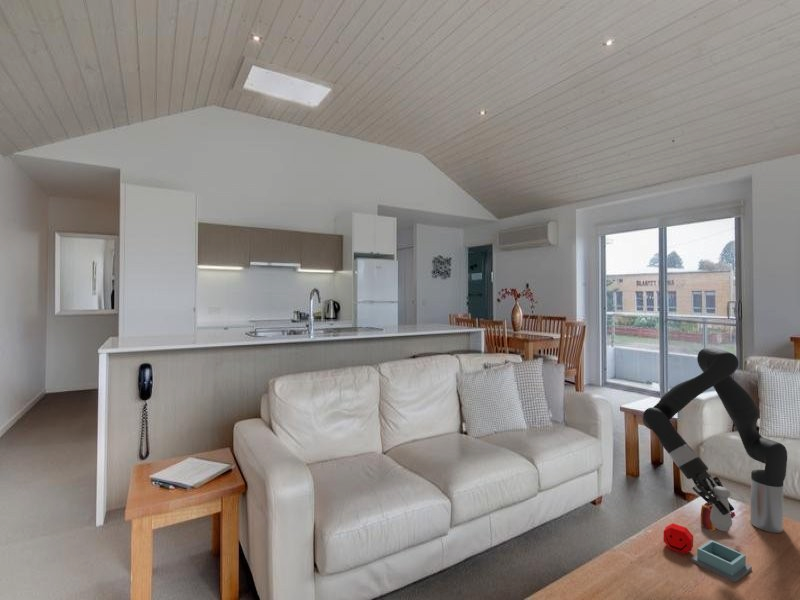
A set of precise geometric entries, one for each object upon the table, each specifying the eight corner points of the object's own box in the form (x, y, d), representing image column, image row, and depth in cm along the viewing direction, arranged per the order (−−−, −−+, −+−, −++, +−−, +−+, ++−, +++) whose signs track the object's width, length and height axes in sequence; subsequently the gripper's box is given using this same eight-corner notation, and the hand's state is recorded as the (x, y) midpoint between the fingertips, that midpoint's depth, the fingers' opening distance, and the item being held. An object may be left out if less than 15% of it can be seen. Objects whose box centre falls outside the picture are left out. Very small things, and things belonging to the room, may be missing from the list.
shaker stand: (708, 549, 143) (708, 537, 143) (751, 569, 133) (751, 555, 133) (691, 561, 137) (691, 547, 137) (734, 582, 127) (735, 568, 127)
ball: (661, 549, 144) (662, 527, 143) (667, 539, 149) (667, 518, 149) (689, 559, 138) (690, 537, 138) (694, 549, 144) (694, 527, 144)
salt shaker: (736, 533, 132) (737, 493, 131) (715, 531, 133) (716, 491, 133) (725, 523, 137) (726, 484, 137) (706, 521, 139) (707, 483, 138)
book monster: (711, 518, 163) (744, 537, 152) (694, 522, 161) (726, 542, 149) (713, 492, 163) (746, 509, 151) (695, 496, 160) (727, 513, 149)
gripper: (686, 460, 138) (729, 513, 127) (706, 452, 145) (748, 502, 135) (668, 470, 142) (709, 522, 132) (689, 462, 149) (729, 511, 139)
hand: (728, 512), depth 133 cm, fingers closed on salt shaker, 3 cm apart
